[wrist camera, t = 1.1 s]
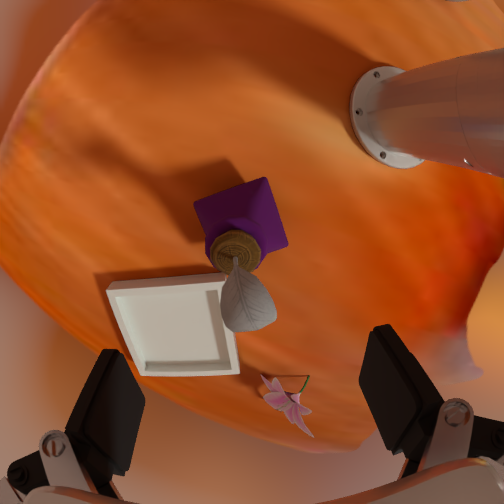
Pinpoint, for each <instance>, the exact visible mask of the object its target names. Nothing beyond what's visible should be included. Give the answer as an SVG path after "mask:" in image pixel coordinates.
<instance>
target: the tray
mask: <svg viewBox="0 0 504 504" xmlns="http://www.w3.org/2000/svg"><path fill="white" fill-rule="evenodd" d="M226 280H227V277H226V274H225V273H223V272H220V273H209V274H198V275H187V276H175V277H163V278H151V279H138V280H125V281H112V283H111V284H110V285H109V286H108V288H107V289H106V293H107V296H108V298H109V301H110V304H111V307H112V309H113V312H114V315H115V317H116V320H117V323H118V325H119V328H120V330H121V332H122V335H123V337H124V340H125V342H126V344H127V347H128V349H129V351H130V353H131V356H132V358H133V360H134V362H135V364H136V366H137V369H138V371H139V373H140V375H141V376H211V375H229V374H240V362H239V356H238V350H237V344H236V337H235V332H232V331H231V330H229V329H228V328H227V327H226V326H225V324H224V321H223V319H222V317H221V309H220V299H221V291H222V286H223V285H224V283H225V281H226Z"/></svg>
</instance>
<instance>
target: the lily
mask: <svg viewBox="0 0 504 504" xmlns="http://www.w3.org/2000/svg"><path fill="white" fill-rule="evenodd" d="M261 377H262V379H263V381H264V383H265V384H266V386H267V387H268V388H269V390H270V391H271V393H268V394H266V395H264V396H263V398H264V400H265V401H266V402H267V403H268V404H269V405H270V406H272V407H273V408H275V409H276V410H279V411H284V413H285V415H286V417H287V418H288V420H289V421H290V422H291V423H292V424H294V423H296V424H297V426H298V427H299V428H300V429H302V430H303V431H304V432H305V433H307V434H308V435H310V436H312V437H314V436H313V435H312V433H311V432H310V431H309V429H308V428H307V427H306V425H305V424H304V422H303V420H302V417H301V415H300V412H301V414H302V415H308V414H310V413H311V412H312V411H311V410H310V409H308V408H306V407H304V406H302V405H301V404H299V395H300V394H301V392H302V391H303V389H304V388H305V386H306V384H307V382H308V379H309V377H310V376H309V375H308V377H307V380H306V382H305V384H304V386H303V388H302V389H301V391H300V392H299V393H298V394H294V393H289V392H285V391H284V390H283V388H282V386H281V384H280V383H279V381H278V379H277V378H274V379H273V381H272V384H271V383H270V382H269V381H268V380H266V379H265V378H264V377H263V376H262V375H261ZM298 407H299V408H300V412H299V408H298Z"/></svg>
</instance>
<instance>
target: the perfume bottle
mask: <svg viewBox="0 0 504 504" xmlns="http://www.w3.org/2000/svg"><path fill="white" fill-rule="evenodd" d="M193 205H194V208H195V210H196V213H197V215H198V218H199V220H200V222H201V225H202V227H203V230H204V232H205V234H206V237H205V254H206V255H207V257H208V259H209V260H210V262H211V263H212V265H213V267H214V268H216V269H217V270H219V271H221V272H223V273H225V274H227V275H229V277H228V278H227V280H226V281H225V283H224V285H223V286H222V291H221V299H220V309H221V317H222V319H223V321H224V324H225V326H226V327H227V328H228V329H229V330H231V331H232V332H245V331H254V330H259V329H261V328H262V327H264V326H266V325H268V324H270V323H272V322H274V321H275V320H276V319H277V311H276V308H275V305H274V302H273V300H272V298H271V296H270V294H269V293H268V291H267V289H266V288H265V287H264V285H263V284H262V283H261V282H260V281H259V279H258V278H257V277H256V276H255V275H253V274H251V273H250V272H253V271H254V270H255V269H257V268H258V266H259V265H260V263H261V262H262V260H263V259H264V258H265V256H266V255H267V253H270V252H273V251H276V250H279V249H282V248H285V247H287V246H288V241H287V238H286V234H285V231H284V228H283V225H282V222H281V219H280V216H279V213H278V210H277V207H276V203H275V200H274V197H273V194H272V191H271V188H270V185H269V183H268V180H267V178H266V177H262V178H259V179H256V180H253V181H250V182H247V183H244V184H241V185H238V186H236V187H233V188H230V189H227V190H224V191H222V192H219V193H216V194H214V195H211V196H208V197H206V198H203V199H200V200H198V201H195V202H194V203H193Z"/></svg>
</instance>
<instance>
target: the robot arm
mask: <svg viewBox="0 0 504 504" xmlns="http://www.w3.org/2000/svg"><path fill="white" fill-rule="evenodd" d="M374 76H375V77H374ZM349 106H350V118H351V123H352V127H353V129H354V132H355V135H356V137H357V138H358V140H359V142H360V144H361V145H362V146H363V148H364V149H365V150H366V151H367V153H369V154H370V155H371V156H372V157H373V158H374V159H375V160H377V161H379V162H380V163H382V164H384V165H387V166H389V167H394V168H398V169H407V168H412V167H415V166H417V165H419V164H421V163H422V162H423V161H425V160H429V161H435V162H440V163H445V164H449V165H454V166H458V167H463V168H467V169H471V170H475V171H479V172H483V173H487V174H490V175H494V176H498V177H501V178H504V48H501V49H495V50H490V51H485V52H480V53H474V54H470V55H465V56H461V57H456V58H452V59H448V60H444V61H440V62H436V63H433V64H429V65H426V66H422V67H419V68H416V69H412V70H409V71H405V70H403V69H400V68H397V67H392V66H382V67H377V68H374V69H372V70H370V71H368V72H366V73H365V74H363V75H362V76H361V77H360V78H359V79H358V81H357V82H356V84H355V86H354V88H353V90H352V93H351V97H350V104H349ZM356 111H357V112H358V114H356ZM380 153H381V156H380ZM359 385H360V388H361V390H362V392H363V394H364V397H365V399H366V401H367V404H368V406H369V408H370V410H371V413H372V415H373V417H374V420H375V422H376V425H377V427H378V429H379V432H380V434H381V437H382V439H383V441H384V444H385V446H386V448H387V450H391V451H392V454H393V455H396V454H398V453H401V452H403V453H404V455H405V457H406V460H405V463H404V465H403V467H402V470H401V472H400V474H399V477H398V479H397V481H394V482H392V483H389V484H386V485H383V486H380V487H377V488H374V489H371V490H368V491H364V492H361V493H358V494H355V495H351V496H347V497H343V498H339V499H335V500H331V501H327V502H322V503H317V504H504V422H501V421H496V420H492V419H487V418H483V417H479V416H475V415H474V412H473V409H472V407H471V406H470V404H469V403H468V402H466V401H465V400H462V399H460V398H453V399H449V400H447V401H446V402H445V401H444V400H443V398H442V397H441V395H440V394H439V392H438V391H437V389H436V387H435V386H434V384H433V383H432V381H431V380H430V378H429V377H428V375H427V374H426V372H425V371H424V369H423V368H422V366H421V365H420V364H419V362H418V361H417V359H416V358H415V356H414V355H413V354H412V353H410V352H409V350H408V349H407V347H406V346H405V344H404V343H403V342H402V340H401V339H400V337H399V336H398V335H397V333H396V332H395V331H394V329H393V328H392V327H391V325H390V324H385V325H381V326H376V327H374V329H373V331H371V332H370V334H369V338H368V343H367V347H366V351H365V356H364V360H363V364H362V368H361V372H360V376H359ZM144 406H145V397H144V395H143V393H142V391H141V389H140V387H139V385H138V383H137V381H136V380H135V378H134V376H133V374H132V372H131V370H130V368H129V365H128V363H127V361H126V359H125V357H124V355H123V354H122V353H120V352H119V350H117V349H103V350H102V352H101V353H100V355H99V357H98V359H97V361H96V363H95V365H94V367H93V369H92V371H91V373H90V375H89V377H88V379H87V381H86V383H85V385H84V387H83V389H82V392H81V394H80V396H79V398H78V400H77V402H76V405H75V406H74V409H73V411H72V413H71V416H70V418H69V420H68V422H67V425H66V427H65V429H66V430H65V432H61V431H59V430H51V431H49V432H47V433H45V434H44V436H43V437H42V438H41V440H40V443H39V450H38V451H36V452H34V453H32V454H30V455H28V456H25V457H23V458H21V459H19V460H16V461H15V462H13V463H11V465H10V466H9V468H8V471H7V476H8V478H6V477H3V478H2V479H1V480H0V504H138V503H133V502H128V501H124V499H123V498H122V497H121V495H120V493H119V491H118V490H117V488H116V486H115V485H114V483H113V481H112V476H113V474H115V475H120V476H125V471H128V470H129V467H130V463H131V459H132V455H133V450H134V446H135V442H136V438H137V433H138V429H139V425H140V422H141V418H142V414H143V410H144Z"/></svg>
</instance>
